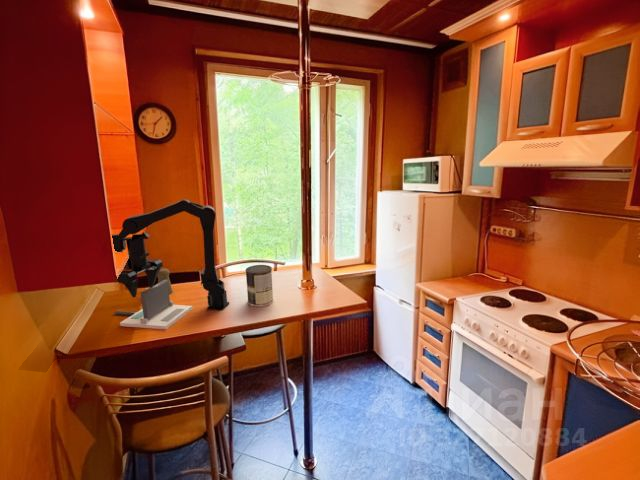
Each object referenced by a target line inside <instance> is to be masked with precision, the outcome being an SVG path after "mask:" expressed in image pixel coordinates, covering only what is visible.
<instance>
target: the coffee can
mask: <svg viewBox="0 0 640 480" xmlns="http://www.w3.org/2000/svg"><path fill="white" fill-rule="evenodd" d="M272 270H273V269H272V266H270V265H266V264H255V265H251V266H248V267H246V268H245V275H246V276H245V277H246V288H247V289H246V290H247V291H246V293H247V304H248V305H250V306H252V307H256V308H257V307H259V308H260V307H266V306H269V305H270V304H272V303H273V302H274V293H273V274H272V272H273V271H272Z"/></svg>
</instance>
